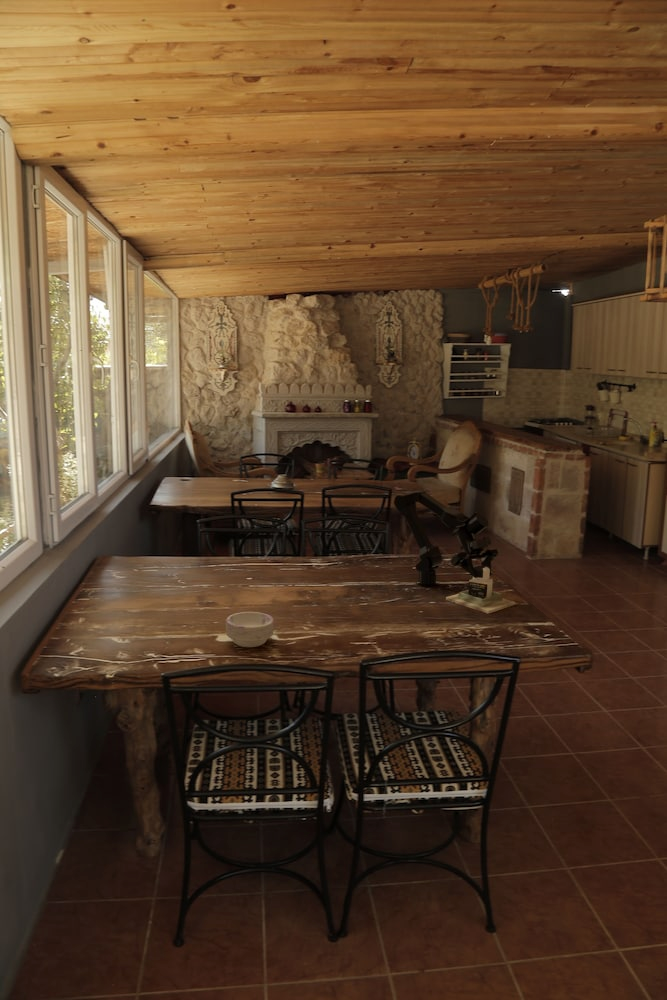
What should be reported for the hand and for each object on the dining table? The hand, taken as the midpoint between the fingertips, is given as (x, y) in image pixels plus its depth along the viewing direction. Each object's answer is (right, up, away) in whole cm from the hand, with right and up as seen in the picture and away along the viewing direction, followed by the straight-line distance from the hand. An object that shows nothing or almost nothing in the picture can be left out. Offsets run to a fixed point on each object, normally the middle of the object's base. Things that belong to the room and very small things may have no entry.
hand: (483, 576), depth 283 cm
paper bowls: (-83, -17, -39) cm, 93 cm away
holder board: (-1, -10, +3) cm, 10 cm away
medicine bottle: (-1, -8, +3) cm, 9 cm away
